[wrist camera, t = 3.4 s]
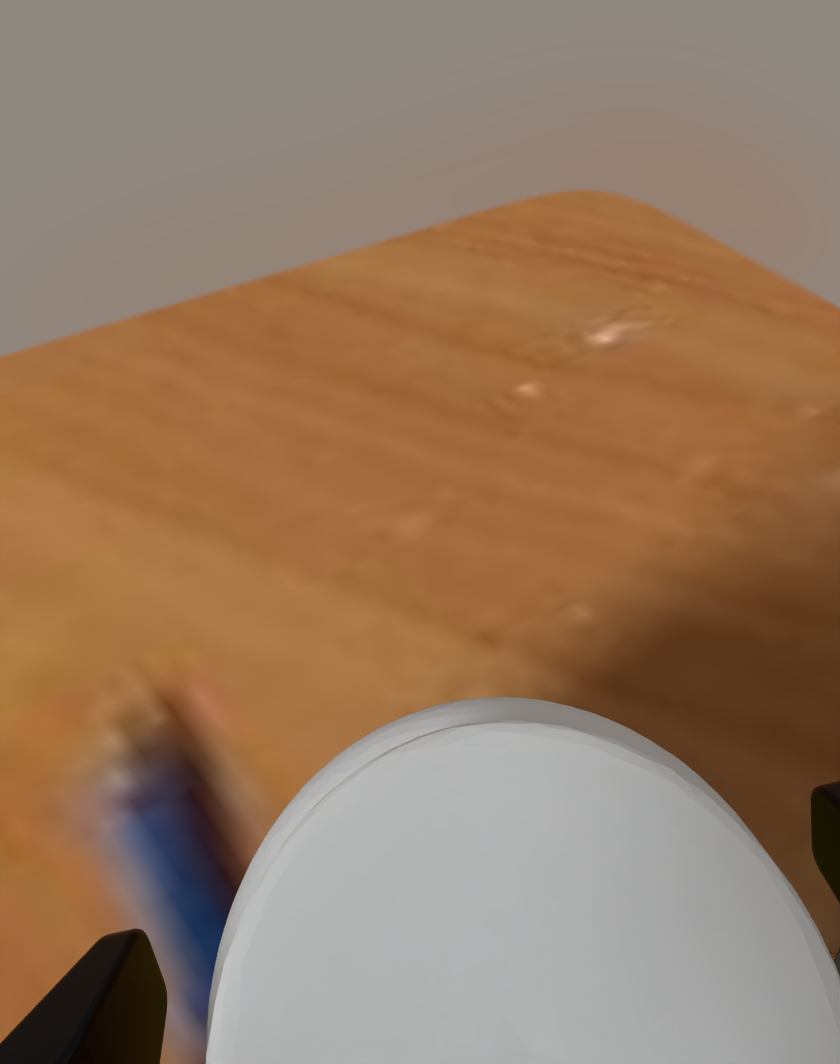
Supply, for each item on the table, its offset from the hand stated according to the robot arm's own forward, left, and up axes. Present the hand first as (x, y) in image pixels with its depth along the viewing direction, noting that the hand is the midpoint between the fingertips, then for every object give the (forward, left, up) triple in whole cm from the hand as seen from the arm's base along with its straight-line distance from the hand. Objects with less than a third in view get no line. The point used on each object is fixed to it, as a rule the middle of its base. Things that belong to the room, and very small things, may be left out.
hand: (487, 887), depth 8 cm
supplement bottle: (-1, +1, -7) cm, 7 cm away
